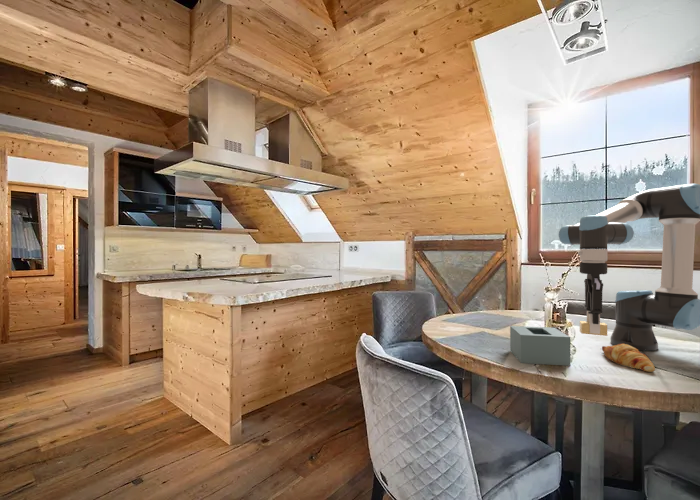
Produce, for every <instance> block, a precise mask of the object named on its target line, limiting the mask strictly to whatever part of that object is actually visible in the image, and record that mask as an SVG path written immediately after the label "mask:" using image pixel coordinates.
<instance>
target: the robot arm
mask: <svg viewBox="0 0 700 500" xmlns="http://www.w3.org/2000/svg"><path fill="white" fill-rule="evenodd" d="M651 218H652V219H654V218H658V222H659V223H660V224H662V226H663V234H662V235H663V237H662V253H661V255H662V256H661V271H660V272H661V276H660V277H661V278H660V287H658V288H657V289H655V291H654V292H653V290H646V289H644V290H643V289H642V290H641V289H640V290H620V291H618V292H616V295H615V301H614V302H615V326H614V328H613V331H612V333H611V336H610V344H611V345H612V346H615V345H618V344H623V343H624V344H627V345H630V346H632V347H634V348H636V349H638V351H642V350H655V351H657V350H656V349H658V350H659V343H658V339H657V338H656V335H655V333H654V330H653V325H657V326H662V327H666V328H671V329H673V328H674V329H676V330H683V331H684V330H685V331H693V330H695V329H696V330H697V328H699V327H700V298H699V294H698V293H697V292H696V291H694V289H693V280H694V279H693V277H694V262H695V261H694V258H695V238H696V225H698V223H699V222H700V184H699V183H687V184H684V183H683V184H678V185H673V186H666V187H659V188H651V189H650V188H649V189H647V190H644V191H640V192H639V193H636V194H633V195H631V196H629V197H627V198H624V199H621V200H620V201H619V202H618V203H617V204H616V205H615V206H612V207H610V208H608V209H606V210H604V211H602V212H600V213H598V214H596V215H585V216H582V217H581V218H580V219H579V222H578V223H576V224H567V225H564V226H561V228H560V229H559V230H558V238H559V239H558V240H559V241H560V242H561V243H562V244H564V245H571V246H575V245H576V246H578V245H579V251H578V252H577V255H579V261H581V262H580V263H579V273H580V274H582V275H586V278H585V279H584V282H583V283H584V307H585V310H586V322H590V333H594V334H600V323H601V314H603V289H604V288H603V287H604V283H603V282H602V281H603V280H602V279H601V277H600V275H607V274H608V262H607V261H608V260H609V258H608V245H624V244H627V243H629V242H631V240H633V238H634V229H633V227H632V226H631V225H630V224H629V223H628V222H635V221H638V220H643V219H651Z"/></svg>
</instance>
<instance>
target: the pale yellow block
mask: <svg viewBox="0 0 700 500" xmlns="http://www.w3.org/2000/svg"><path fill="white" fill-rule="evenodd" d="M579 332H580V333H581V334H582V335H584V334H585V335H595V336H596V335H597V336H606V337H607V336H608V324H607V323H606V322H600V334H594V333H590V322H587V320H586V321H585V320H584V321H583V320H580V321H579Z"/></svg>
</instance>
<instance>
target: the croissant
mask: <svg viewBox="0 0 700 500" xmlns="http://www.w3.org/2000/svg"><path fill="white" fill-rule="evenodd" d="M601 349H602V351H603V354H604V356H605V357H606V358H607V359H608V360H609V361H611V362H613V363H615V364H617V365H621V366H623V367H627V366H628V367H629V368H631V369H635V368H636V369H637V370H638V369H639V370H642V371H643V372H649V373H652V372H654V371H655V370H656V368H655V367H656V366H655V365H654V363H653V362H652V361H651V359H650V358H649V357H648V356H647V355H646V354H645V353H642V352H641V351H640V350H638V349H636V348H634V347H632V346H630V345H627V344H624V343H623V344H618V345H612V346H611V345H607V346H604V345H602V346H601ZM636 369H635V370H636Z"/></svg>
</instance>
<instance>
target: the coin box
mask: <svg viewBox="0 0 700 500" xmlns="http://www.w3.org/2000/svg"><path fill="white" fill-rule="evenodd" d="M509 333H510V334H509V337H510V338H509V342H510V343H509V344H510V347H509V348H510V349H509V351H510V353H511V354H513V356H514V357H515V358H516V359H517V360H518V361H519V363H520V364H533V365H534V364H535V365H537V364H538V365H550V366H551V365H553V366H571V336H569V335H568V334H566V333H564V332H562V331H561V330H560V329H557V327H544V326H521V325H520V326H519V325H510V326H509Z"/></svg>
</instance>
